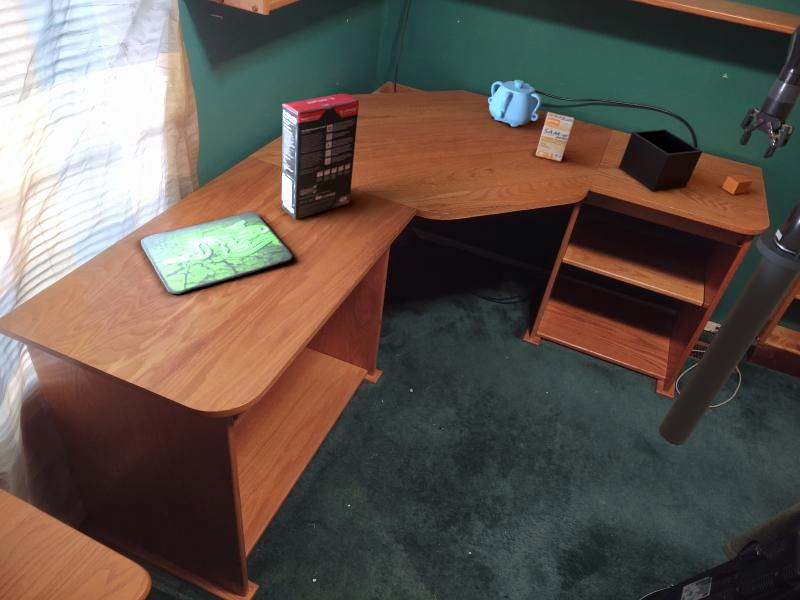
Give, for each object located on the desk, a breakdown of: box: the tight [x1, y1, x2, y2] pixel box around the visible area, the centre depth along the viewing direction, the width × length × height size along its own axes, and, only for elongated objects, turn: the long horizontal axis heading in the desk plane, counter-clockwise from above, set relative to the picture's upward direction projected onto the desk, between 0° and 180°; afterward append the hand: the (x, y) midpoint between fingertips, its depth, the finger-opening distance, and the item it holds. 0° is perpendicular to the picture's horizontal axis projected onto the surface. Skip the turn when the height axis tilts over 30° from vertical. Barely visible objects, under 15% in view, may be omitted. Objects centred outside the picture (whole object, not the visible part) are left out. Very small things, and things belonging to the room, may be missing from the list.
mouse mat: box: [140, 211, 293, 295], centre depth 130 cm, size 27×22×1 cm
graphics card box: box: [281, 92, 360, 220], centre depth 141 cm, size 17×7×27 cm, turn 131°
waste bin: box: [618, 128, 703, 193], centre depth 181 cm, size 16×14×12 cm
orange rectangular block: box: [721, 173, 753, 195], centre depth 183 cm, size 4×6×4 cm
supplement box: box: [535, 111, 575, 163], centre depth 184 cm, size 8×5×13 cm, turn 73°
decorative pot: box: [487, 79, 543, 128], centre depth 204 cm, size 16×16×14 cm
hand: (754, 150), depth 176 cm, fingers open, 8 cm apart
